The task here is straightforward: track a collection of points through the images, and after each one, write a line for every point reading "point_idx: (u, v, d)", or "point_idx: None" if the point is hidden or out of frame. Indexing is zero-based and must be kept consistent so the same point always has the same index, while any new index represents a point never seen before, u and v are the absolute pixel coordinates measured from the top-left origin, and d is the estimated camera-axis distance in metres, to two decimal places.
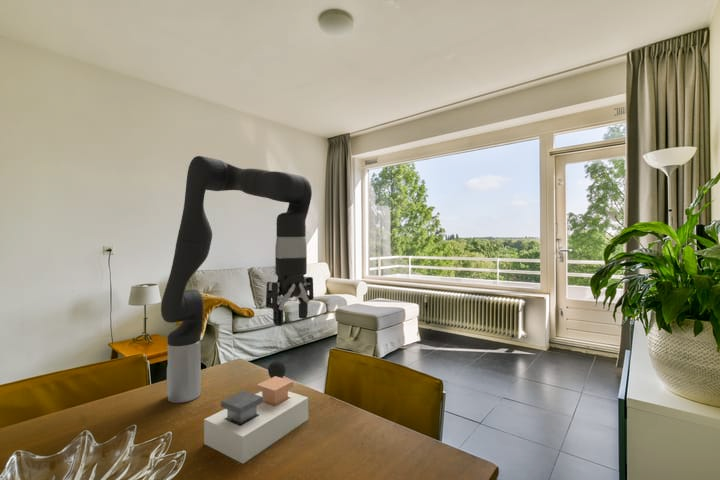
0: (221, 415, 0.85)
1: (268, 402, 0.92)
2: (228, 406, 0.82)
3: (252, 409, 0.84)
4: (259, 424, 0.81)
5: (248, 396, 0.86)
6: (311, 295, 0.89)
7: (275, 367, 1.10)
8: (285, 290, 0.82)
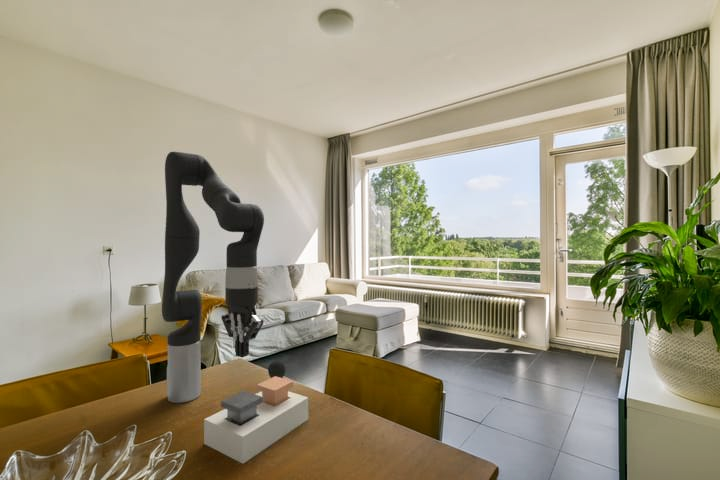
0: (221, 415, 0.85)
1: (268, 402, 0.92)
2: (228, 406, 0.82)
3: (252, 409, 0.84)
4: (259, 424, 0.81)
5: (248, 396, 0.86)
6: None
7: (275, 367, 1.10)
8: None
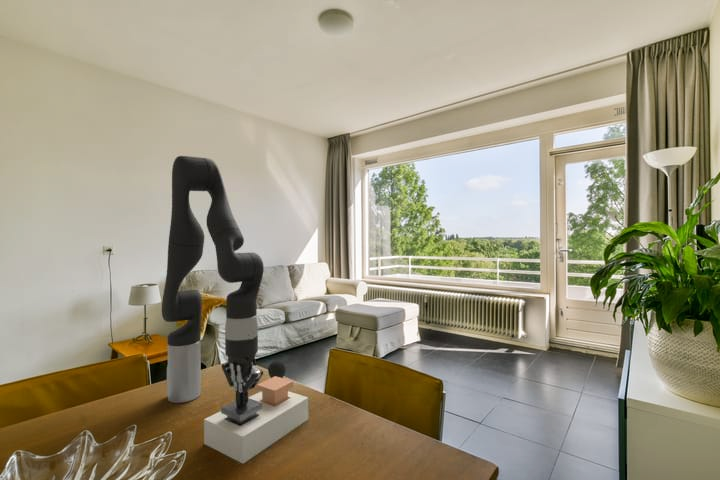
0: (221, 415, 0.85)
1: (268, 402, 0.92)
2: (228, 412, 0.82)
3: (252, 415, 0.84)
4: (259, 424, 0.81)
5: (248, 403, 0.86)
6: None
7: (275, 367, 1.10)
8: None
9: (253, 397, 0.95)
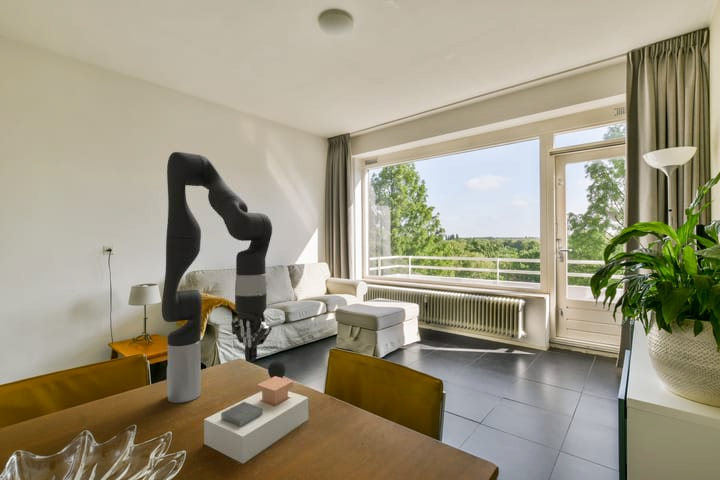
0: None
1: (268, 402, 0.92)
2: (228, 418, 0.82)
3: None
4: (259, 424, 0.81)
5: (248, 408, 0.86)
6: None
7: (275, 367, 1.10)
8: None
9: (253, 397, 0.95)
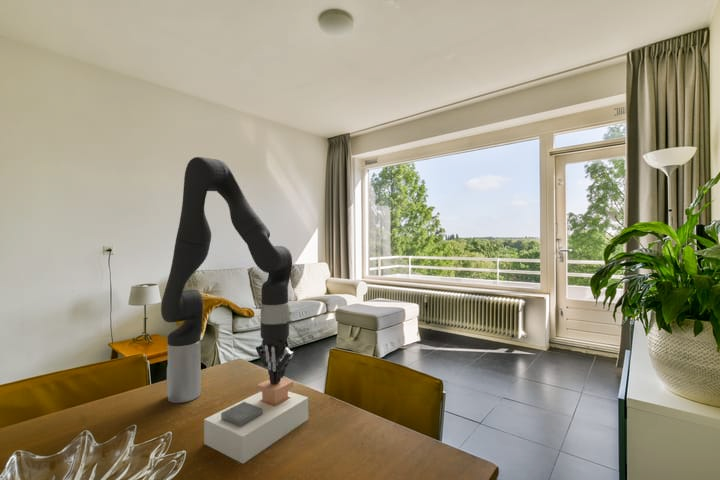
0: None
1: (268, 402, 0.92)
2: (228, 418, 0.82)
3: None
4: (259, 424, 0.81)
5: (248, 408, 0.86)
6: None
7: None
8: None
9: (253, 397, 0.95)
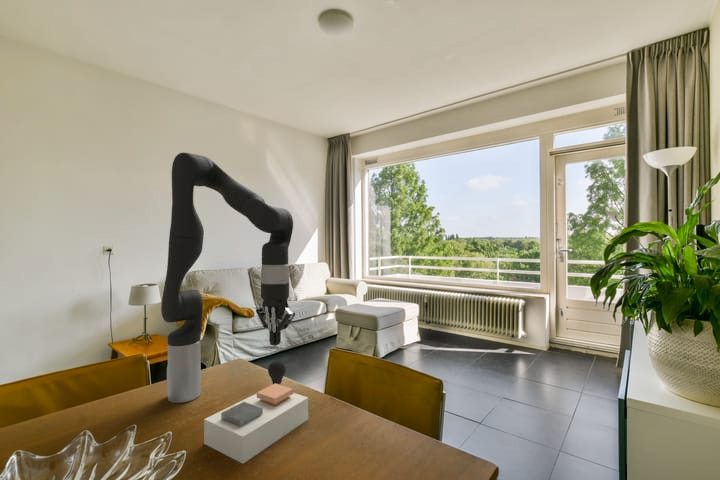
0: None
1: None
2: (228, 418, 0.82)
3: None
4: (259, 424, 0.81)
5: (248, 408, 0.86)
6: None
7: (275, 367, 1.10)
8: None
9: (253, 397, 0.95)
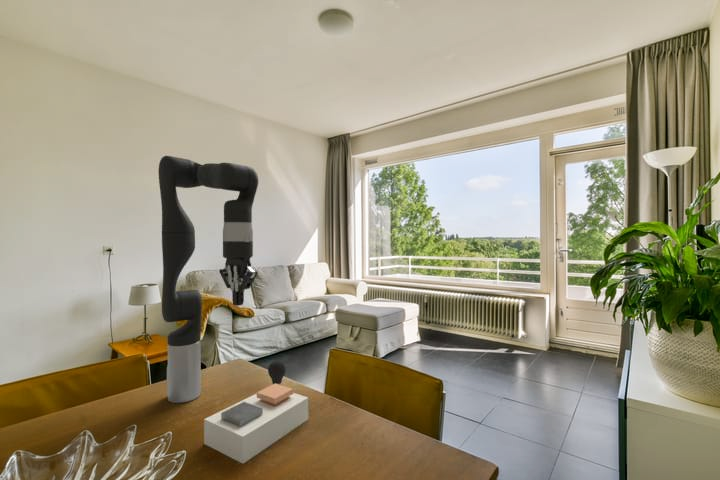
0: None
1: None
2: (228, 418, 0.82)
3: None
4: (259, 424, 0.81)
5: (248, 408, 0.86)
6: None
7: (275, 367, 1.10)
8: None
9: (253, 397, 0.95)
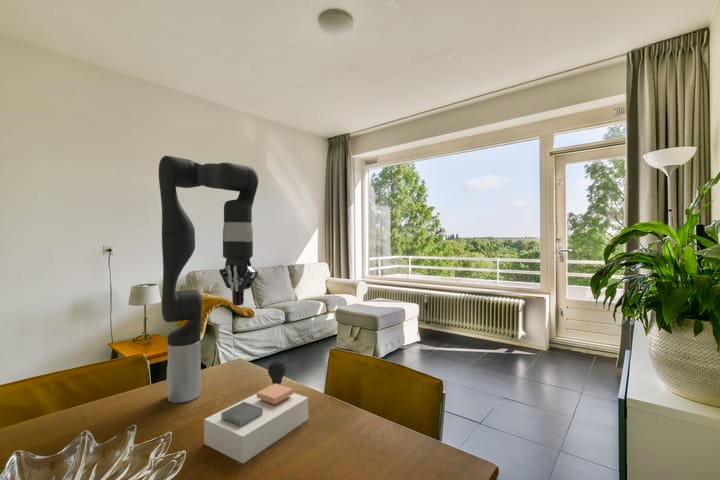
0: None
1: None
2: (228, 418, 0.82)
3: None
4: (259, 424, 0.81)
5: (248, 408, 0.86)
6: None
7: (275, 367, 1.10)
8: None
9: (253, 397, 0.95)
